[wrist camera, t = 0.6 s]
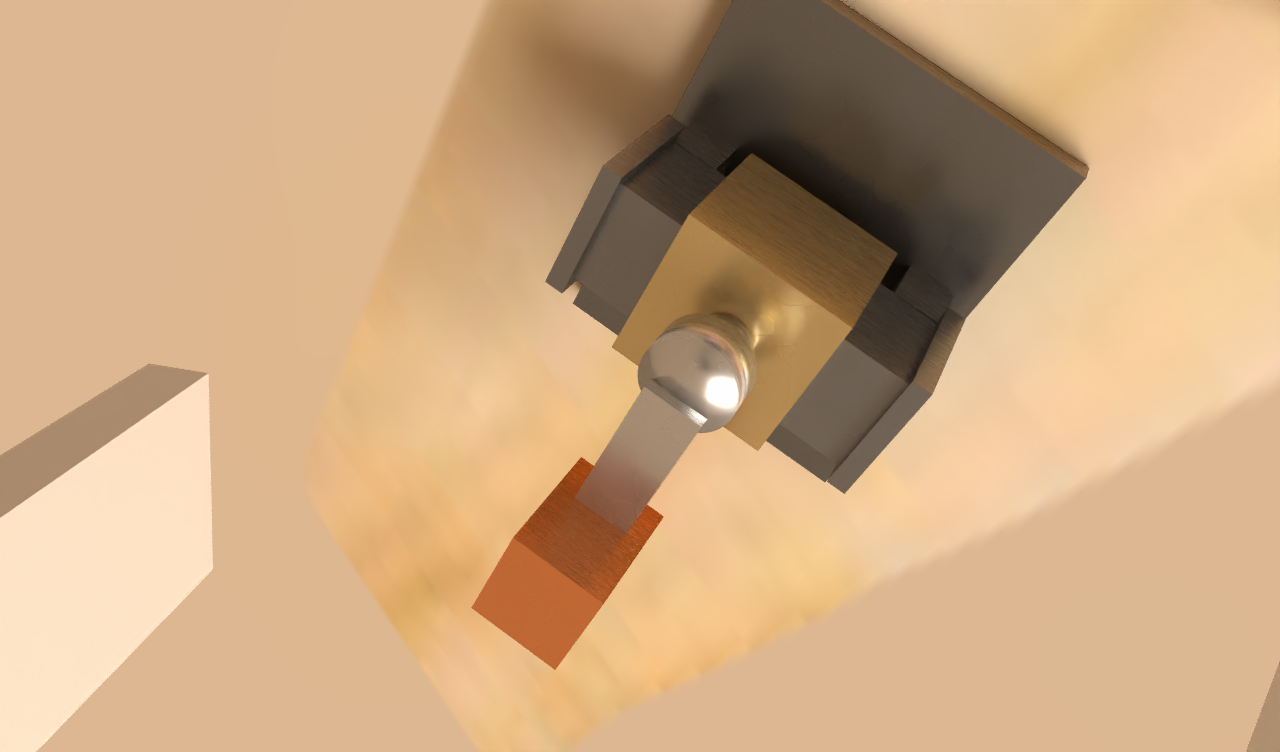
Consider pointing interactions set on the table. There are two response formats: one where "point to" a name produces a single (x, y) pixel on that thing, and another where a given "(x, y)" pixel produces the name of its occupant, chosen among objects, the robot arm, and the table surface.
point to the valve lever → (616, 490)
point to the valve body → (816, 223)
